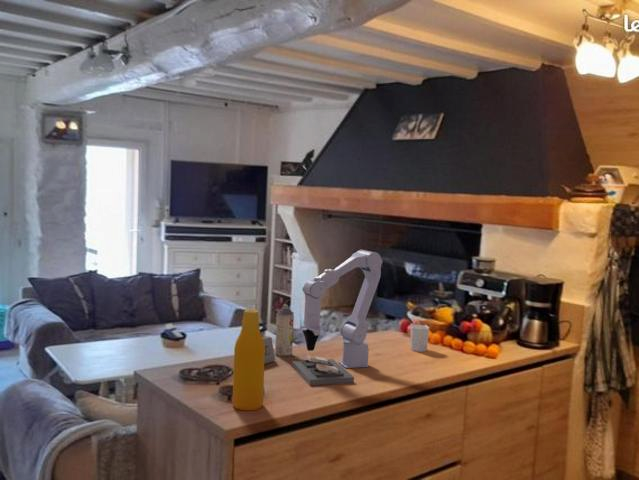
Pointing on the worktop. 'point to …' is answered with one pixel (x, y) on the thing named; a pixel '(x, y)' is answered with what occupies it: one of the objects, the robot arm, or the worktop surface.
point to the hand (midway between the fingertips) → (310, 350)
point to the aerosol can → (284, 332)
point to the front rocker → (326, 368)
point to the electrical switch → (269, 350)
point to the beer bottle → (249, 364)
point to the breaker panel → (321, 373)
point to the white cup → (419, 337)
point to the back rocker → (317, 359)
